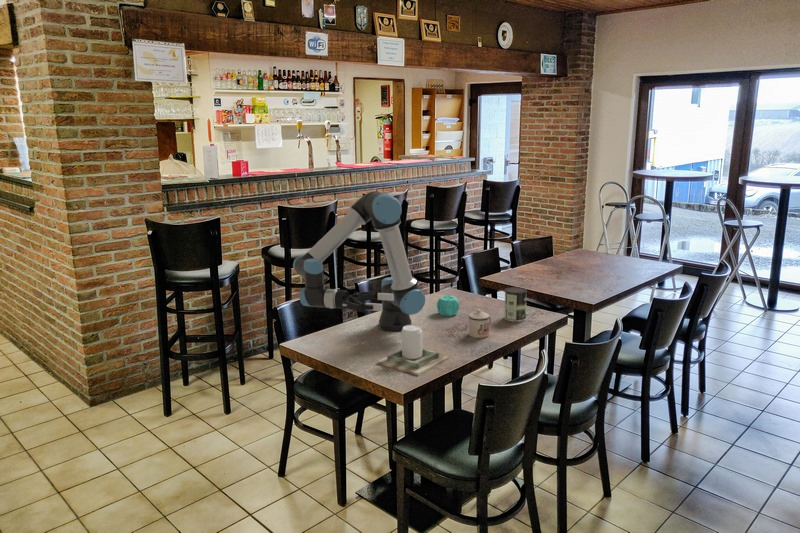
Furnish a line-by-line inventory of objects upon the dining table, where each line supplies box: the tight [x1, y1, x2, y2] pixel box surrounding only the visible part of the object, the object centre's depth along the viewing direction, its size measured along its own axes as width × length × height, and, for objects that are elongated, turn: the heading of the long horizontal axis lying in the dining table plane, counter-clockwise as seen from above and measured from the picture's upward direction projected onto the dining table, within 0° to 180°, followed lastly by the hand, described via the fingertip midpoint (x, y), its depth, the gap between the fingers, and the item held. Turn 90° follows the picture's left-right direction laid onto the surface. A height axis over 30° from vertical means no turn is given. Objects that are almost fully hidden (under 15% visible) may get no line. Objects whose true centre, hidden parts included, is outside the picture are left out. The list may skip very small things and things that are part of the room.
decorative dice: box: [436, 295, 460, 317], centre depth 297 cm, size 8×8×8 cm
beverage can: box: [401, 324, 423, 359], centre depth 241 cm, size 8×8×12 cm
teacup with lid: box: [468, 308, 492, 339], centre depth 268 cm, size 12×9×12 cm
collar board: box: [377, 348, 449, 377], centre depth 240 cm, size 20×20×3 cm
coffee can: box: [503, 286, 528, 323], centre depth 288 cm, size 10×10×14 cm
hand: (387, 302), depth 238 cm, fingers open, 13 cm apart
